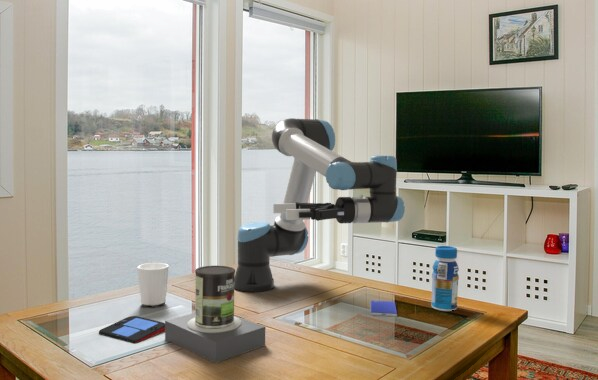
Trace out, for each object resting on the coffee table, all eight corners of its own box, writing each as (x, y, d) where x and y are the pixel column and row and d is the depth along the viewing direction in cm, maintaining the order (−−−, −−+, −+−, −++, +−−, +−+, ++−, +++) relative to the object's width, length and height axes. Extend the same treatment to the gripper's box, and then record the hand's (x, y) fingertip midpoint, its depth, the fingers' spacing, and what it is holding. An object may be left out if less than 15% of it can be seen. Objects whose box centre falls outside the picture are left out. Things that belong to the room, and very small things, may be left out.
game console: (97, 335, 143) (97, 327, 143) (132, 322, 154) (132, 314, 154) (135, 345, 136) (135, 337, 136) (169, 330, 147) (169, 323, 147)
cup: (139, 310, 163) (139, 270, 162) (135, 301, 172) (135, 263, 171) (171, 307, 167) (171, 267, 166) (166, 298, 176) (166, 261, 175)
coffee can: (242, 320, 139) (243, 268, 138) (216, 332, 131) (216, 276, 130) (213, 313, 145) (213, 263, 144) (186, 323, 136) (186, 270, 135)
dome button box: (165, 338, 140) (165, 316, 139) (213, 324, 151) (213, 304, 151) (216, 363, 125) (216, 338, 124) (265, 345, 136) (265, 322, 136)
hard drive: (370, 300, 175) (370, 311, 163) (395, 301, 174) (397, 313, 162) (370, 304, 175) (370, 316, 163) (394, 306, 174) (397, 318, 162)
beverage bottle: (425, 305, 174) (427, 245, 172) (447, 303, 177) (450, 244, 175) (440, 312, 166) (442, 250, 164) (462, 310, 169) (465, 249, 167)
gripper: (336, 193, 161) (269, 193, 155) (370, 201, 137) (292, 202, 131) (335, 217, 162) (268, 218, 156) (369, 229, 138) (291, 232, 132)
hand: (279, 211), depth 143 cm, fingers open, 13 cm apart
